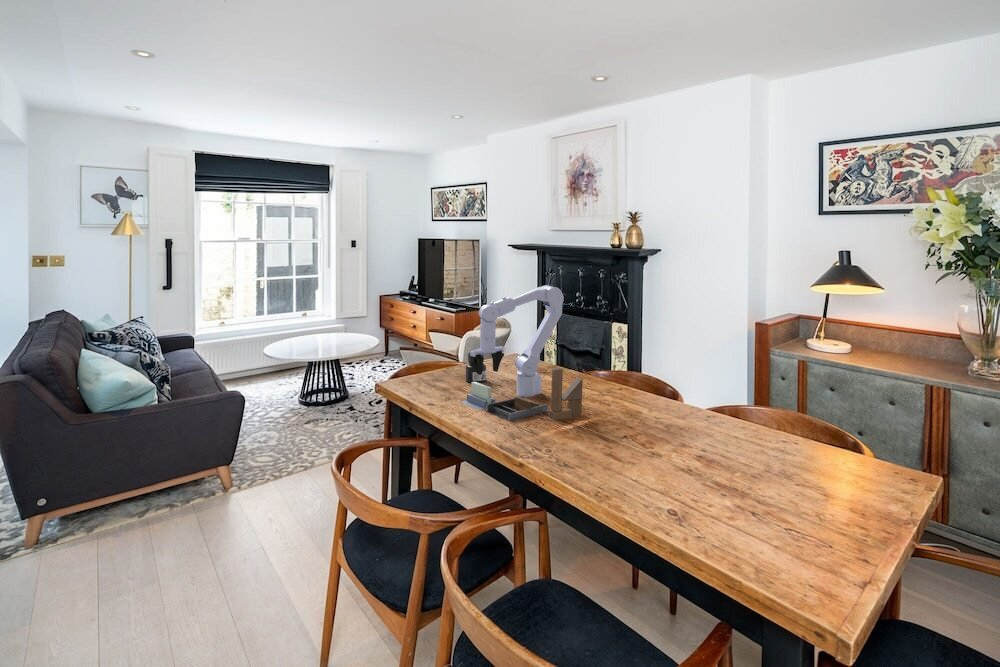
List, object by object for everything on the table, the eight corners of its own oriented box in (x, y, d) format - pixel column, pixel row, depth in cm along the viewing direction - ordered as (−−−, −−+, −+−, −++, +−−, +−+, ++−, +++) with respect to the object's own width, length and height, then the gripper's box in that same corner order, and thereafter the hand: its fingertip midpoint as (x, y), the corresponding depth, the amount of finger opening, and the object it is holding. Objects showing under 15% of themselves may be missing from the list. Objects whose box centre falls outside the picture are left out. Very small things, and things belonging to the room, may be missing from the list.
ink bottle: (476, 385, 221) (476, 357, 219) (460, 381, 227) (460, 354, 224) (491, 380, 229) (491, 353, 227) (475, 377, 234) (475, 350, 232)
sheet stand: (481, 399, 202) (482, 390, 201) (501, 407, 192) (501, 398, 192) (460, 404, 195) (460, 395, 195) (479, 412, 186) (479, 403, 186)
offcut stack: (523, 404, 192) (524, 394, 191) (538, 410, 186) (539, 400, 185) (514, 407, 189) (514, 397, 189) (529, 413, 183) (529, 402, 183)
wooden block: (581, 419, 181) (583, 367, 177) (553, 423, 177) (554, 370, 173) (576, 415, 184) (577, 365, 181) (548, 419, 180) (549, 368, 177)
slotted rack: (523, 405, 195) (523, 395, 195) (547, 414, 185) (547, 404, 185) (486, 414, 185) (486, 404, 184) (510, 424, 175) (510, 414, 174)
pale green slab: (474, 399, 198) (474, 381, 197) (491, 406, 190) (491, 387, 189) (471, 400, 197) (471, 382, 196) (487, 407, 189) (487, 388, 188)
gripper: (478, 341, 190) (478, 377, 193) (509, 336, 199) (509, 372, 202) (467, 338, 196) (467, 373, 198) (497, 334, 205) (497, 368, 207)
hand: (487, 372), depth 200 cm, fingers open, 7 cm apart
